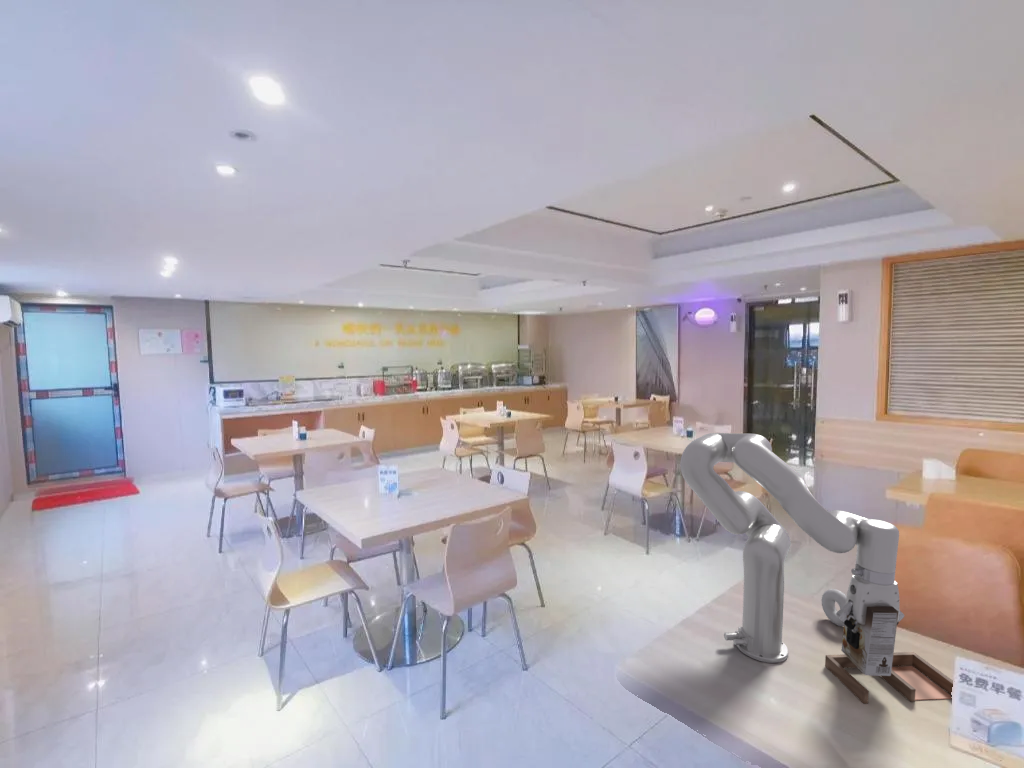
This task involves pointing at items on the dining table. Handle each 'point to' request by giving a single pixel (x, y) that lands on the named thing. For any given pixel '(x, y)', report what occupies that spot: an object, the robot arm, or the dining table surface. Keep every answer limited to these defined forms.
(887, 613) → the coffee box
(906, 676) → the rack
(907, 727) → the dining table surface
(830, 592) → the donut
